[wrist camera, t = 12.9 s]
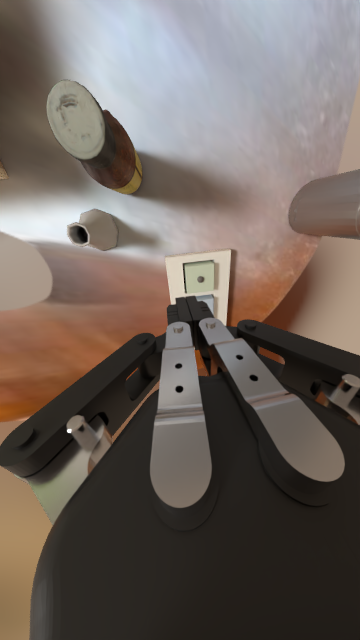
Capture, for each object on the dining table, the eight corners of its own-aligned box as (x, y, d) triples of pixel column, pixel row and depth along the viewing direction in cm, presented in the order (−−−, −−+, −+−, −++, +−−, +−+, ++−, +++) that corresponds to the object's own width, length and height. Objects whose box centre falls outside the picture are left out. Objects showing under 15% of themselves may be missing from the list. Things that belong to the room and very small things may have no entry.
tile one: (210, 260, 37) (214, 263, 35) (210, 286, 41) (214, 291, 38) (183, 263, 37) (185, 267, 34) (185, 289, 40) (187, 294, 38)
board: (227, 248, 37) (231, 250, 35) (222, 340, 51) (224, 344, 49) (164, 255, 36) (165, 257, 35) (176, 346, 50) (177, 351, 48)
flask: (115, 209, 31) (98, 205, 23) (121, 250, 35) (109, 260, 26) (74, 208, 30) (41, 204, 22) (85, 250, 34) (61, 261, 26)
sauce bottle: (108, 139, 26) (17, 1, 10) (147, 158, 28) (128, 68, 11) (103, 188, 29) (27, 149, 13) (138, 203, 31) (114, 185, 14)
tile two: (210, 293, 42) (213, 299, 39) (210, 314, 45) (213, 320, 42) (186, 296, 41) (188, 302, 39) (188, 317, 45) (190, 324, 42)
